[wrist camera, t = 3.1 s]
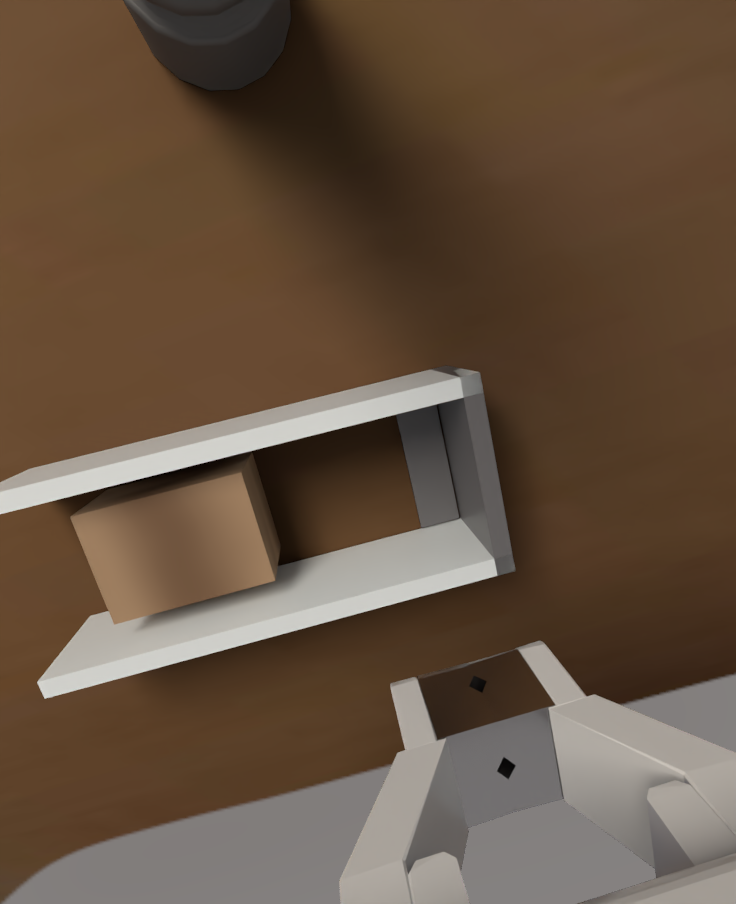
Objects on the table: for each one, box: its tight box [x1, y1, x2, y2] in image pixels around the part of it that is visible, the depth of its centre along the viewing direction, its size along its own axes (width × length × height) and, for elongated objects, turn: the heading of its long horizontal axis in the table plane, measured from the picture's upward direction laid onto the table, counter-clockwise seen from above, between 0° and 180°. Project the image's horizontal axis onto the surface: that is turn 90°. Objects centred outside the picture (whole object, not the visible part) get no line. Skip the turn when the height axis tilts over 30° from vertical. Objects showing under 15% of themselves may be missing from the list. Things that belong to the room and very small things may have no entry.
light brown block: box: [70, 452, 281, 625], centre depth 23 cm, size 7×5×4 cm
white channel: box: [0, 366, 515, 698], centre depth 22 cm, size 20×9×5 cm, turn 103°
